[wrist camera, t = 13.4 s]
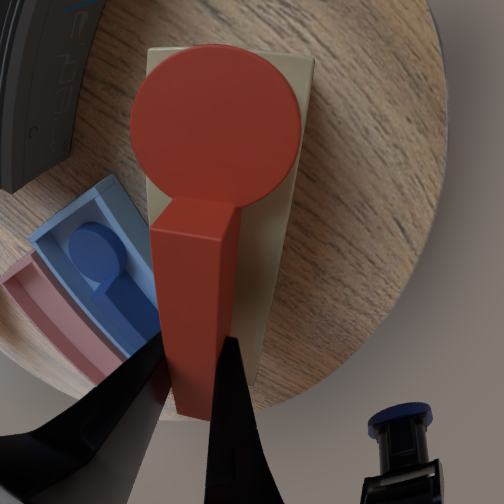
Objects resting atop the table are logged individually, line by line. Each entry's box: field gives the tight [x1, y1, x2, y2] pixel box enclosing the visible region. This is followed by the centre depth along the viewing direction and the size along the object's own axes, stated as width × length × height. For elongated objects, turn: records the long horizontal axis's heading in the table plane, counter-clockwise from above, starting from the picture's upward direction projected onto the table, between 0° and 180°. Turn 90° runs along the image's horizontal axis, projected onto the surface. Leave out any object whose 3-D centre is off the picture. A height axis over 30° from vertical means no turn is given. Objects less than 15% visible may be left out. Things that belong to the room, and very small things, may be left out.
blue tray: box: [28, 173, 158, 358], centre depth 18 cm, size 15×8×2 cm, turn 26°
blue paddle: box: [68, 222, 161, 351], centre depth 18 cm, size 12×4×2 cm, turn 26°
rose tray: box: [0, 248, 128, 387], centre depth 22 cm, size 15×8×2 cm, turn 26°
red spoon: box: [130, 44, 301, 421], centre depth 8 cm, size 12×4×2 cm, turn 174°
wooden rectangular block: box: [146, 46, 315, 386], centre depth 12 cm, size 13×4×6 cm, turn 174°
